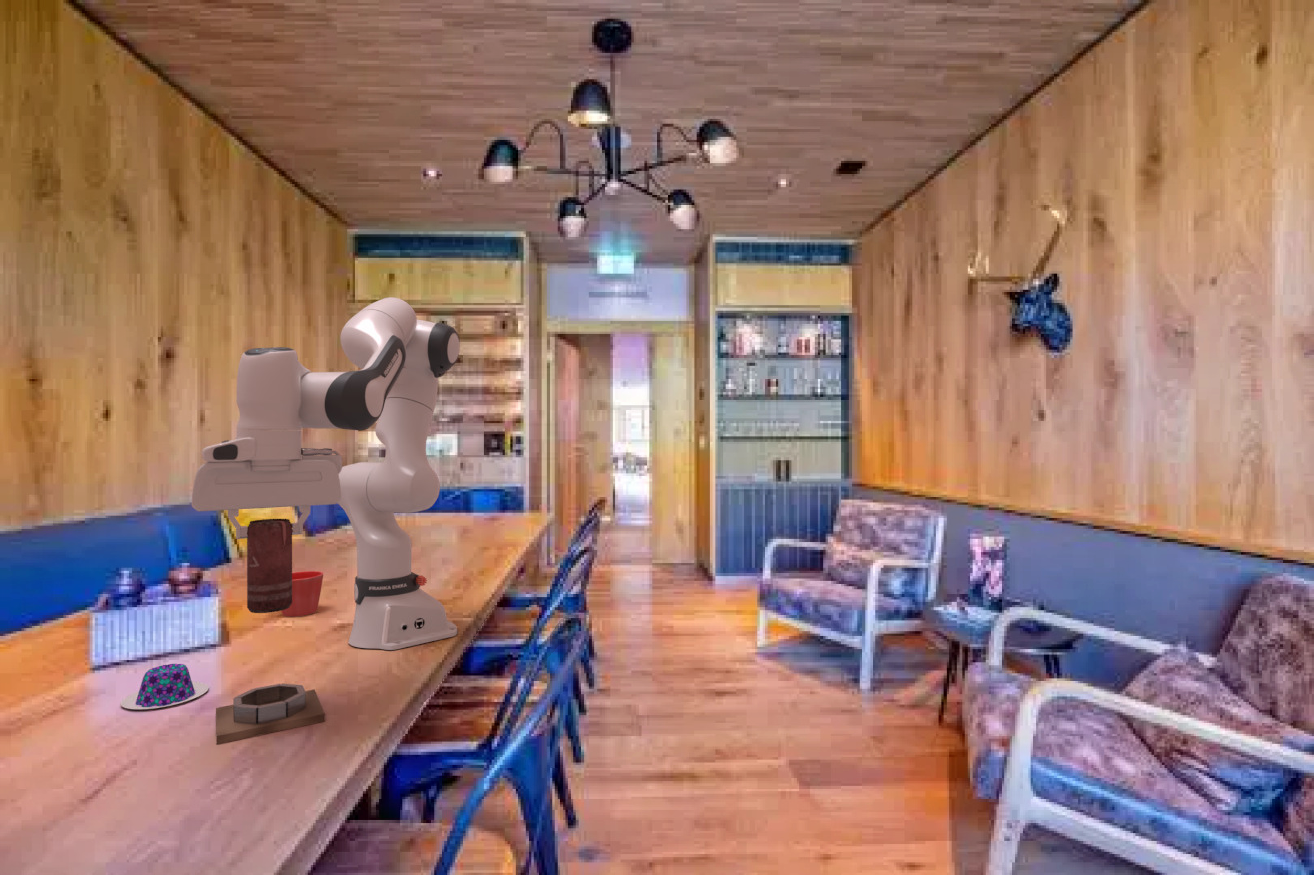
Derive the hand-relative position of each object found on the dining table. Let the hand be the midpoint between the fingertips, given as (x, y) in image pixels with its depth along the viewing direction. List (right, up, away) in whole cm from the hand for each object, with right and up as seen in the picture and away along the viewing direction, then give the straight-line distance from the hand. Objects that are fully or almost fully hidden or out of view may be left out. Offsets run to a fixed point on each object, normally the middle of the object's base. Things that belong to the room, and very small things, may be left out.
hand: (269, 536), depth 103 cm
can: (0, -12, 0) cm, 12 cm away
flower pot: (-29, -29, +62) cm, 75 cm away
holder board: (0, -29, 0) cm, 29 cm away
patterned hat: (-22, -29, +8) cm, 38 cm away
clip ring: (0, -27, 0) cm, 27 cm away
